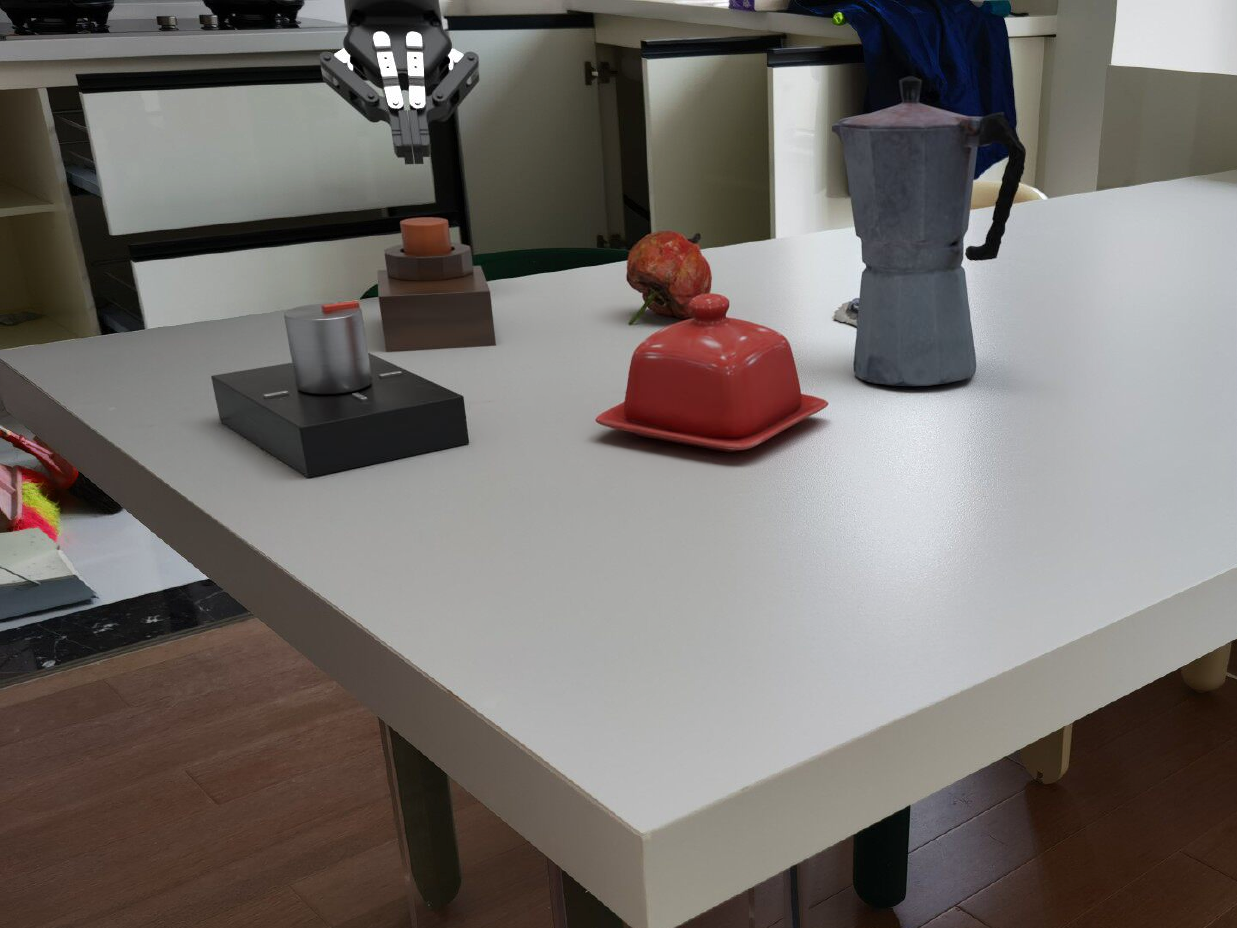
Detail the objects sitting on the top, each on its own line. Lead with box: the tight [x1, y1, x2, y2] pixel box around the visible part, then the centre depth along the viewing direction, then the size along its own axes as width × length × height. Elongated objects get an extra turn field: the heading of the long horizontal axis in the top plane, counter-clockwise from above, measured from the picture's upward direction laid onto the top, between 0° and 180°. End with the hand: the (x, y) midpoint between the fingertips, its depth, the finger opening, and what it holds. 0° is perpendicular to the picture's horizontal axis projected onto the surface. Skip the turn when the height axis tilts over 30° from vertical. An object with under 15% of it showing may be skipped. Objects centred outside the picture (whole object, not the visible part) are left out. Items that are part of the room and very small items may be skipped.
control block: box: [377, 242, 497, 353], centre depth 109 cm, size 11×8×6 cm
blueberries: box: [832, 297, 860, 327], centre depth 117 cm, size 7×8×2 cm
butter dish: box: [595, 292, 829, 453], centre depth 87 cm, size 12×12×8 cm
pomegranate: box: [625, 230, 713, 326], centre depth 114 cm, size 7×7×10 cm
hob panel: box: [210, 352, 470, 479], centre depth 86 cm, size 14×10×3 cm
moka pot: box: [831, 75, 1027, 387], centre depth 97 cm, size 10×15×20 cm, turn 59°
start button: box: [399, 216, 452, 255], centre depth 109 cm, size 4×4×2 cm
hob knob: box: [283, 300, 372, 394], centre depth 85 cm, size 4×4×5 cm
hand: (414, 157), depth 111 cm, fingers closed
